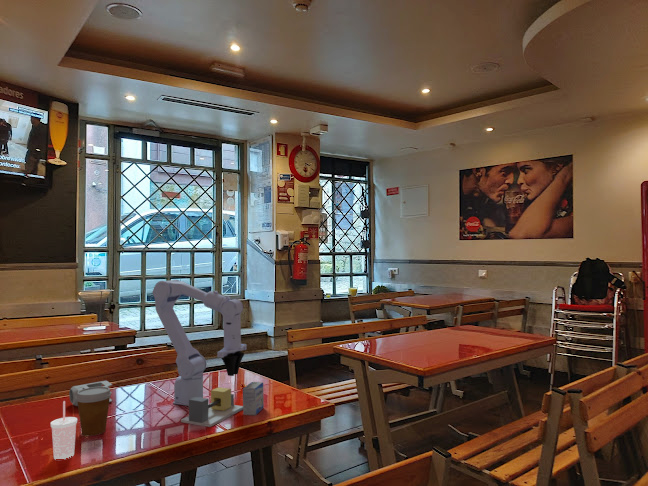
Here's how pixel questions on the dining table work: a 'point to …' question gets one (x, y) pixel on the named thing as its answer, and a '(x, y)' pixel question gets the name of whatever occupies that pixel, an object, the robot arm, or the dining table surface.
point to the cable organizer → (75, 389)
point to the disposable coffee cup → (93, 409)
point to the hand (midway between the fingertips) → (232, 374)
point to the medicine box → (253, 398)
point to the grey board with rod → (208, 412)
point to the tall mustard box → (223, 395)
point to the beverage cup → (63, 436)
